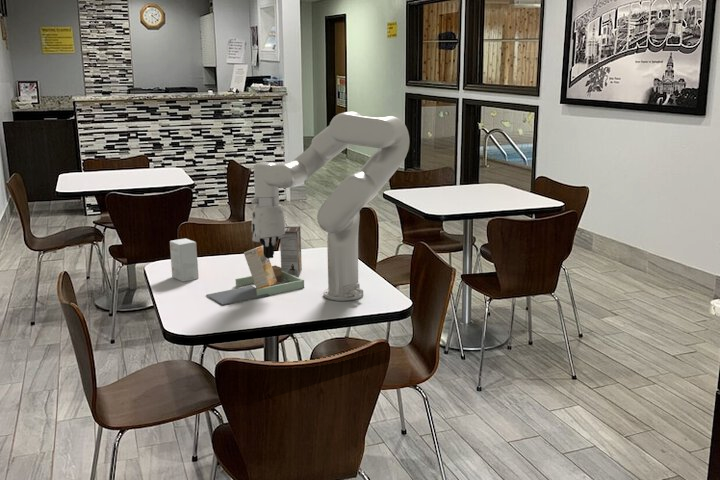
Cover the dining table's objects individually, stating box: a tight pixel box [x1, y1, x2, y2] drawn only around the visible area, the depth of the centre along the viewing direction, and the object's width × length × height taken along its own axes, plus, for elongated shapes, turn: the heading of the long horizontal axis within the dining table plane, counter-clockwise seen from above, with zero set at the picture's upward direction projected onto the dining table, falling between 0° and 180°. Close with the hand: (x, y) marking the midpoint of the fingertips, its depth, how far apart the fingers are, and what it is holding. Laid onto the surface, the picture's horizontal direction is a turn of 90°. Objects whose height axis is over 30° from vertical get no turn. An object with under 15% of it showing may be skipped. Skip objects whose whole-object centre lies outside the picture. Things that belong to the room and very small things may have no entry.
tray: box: [235, 271, 305, 296], centre depth 235 cm, size 15×17×2 cm
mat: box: [205, 285, 270, 306], centre depth 226 cm, size 12×16×1 cm
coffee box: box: [279, 225, 303, 278], centre depth 249 cm, size 9×6×16 cm
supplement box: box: [243, 245, 277, 289], centre depth 232 cm, size 8×5×13 cm, turn 168°
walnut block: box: [272, 265, 283, 285], centre depth 241 cm, size 4×4×5 cm
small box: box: [169, 237, 199, 283], centre depth 246 cm, size 8×6×13 cm
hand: (268, 257), depth 231 cm, fingers closed
